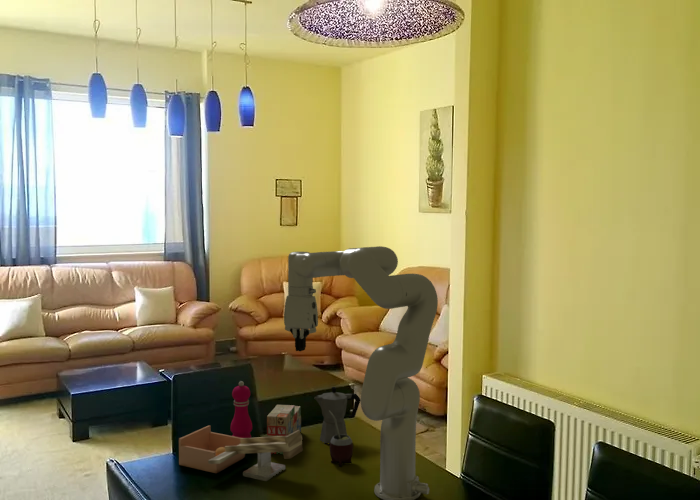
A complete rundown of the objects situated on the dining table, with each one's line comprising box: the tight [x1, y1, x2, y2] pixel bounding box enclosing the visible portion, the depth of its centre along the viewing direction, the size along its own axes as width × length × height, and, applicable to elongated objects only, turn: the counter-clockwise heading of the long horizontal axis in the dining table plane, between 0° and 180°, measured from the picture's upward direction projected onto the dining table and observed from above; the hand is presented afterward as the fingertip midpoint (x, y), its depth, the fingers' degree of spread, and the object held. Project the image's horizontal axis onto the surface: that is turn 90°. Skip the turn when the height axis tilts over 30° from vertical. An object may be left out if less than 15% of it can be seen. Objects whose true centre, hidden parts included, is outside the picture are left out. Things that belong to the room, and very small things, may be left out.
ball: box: [215, 447, 225, 456], centre depth 202 cm, size 4×4×4 cm
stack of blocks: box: [266, 404, 302, 455], centre depth 220 cm, size 21×6×12 cm, turn 171°
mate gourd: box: [329, 410, 354, 468], centre depth 203 cm, size 8×8×15 cm
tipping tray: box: [208, 430, 304, 464], centre depth 191 cm, size 22×16×6 cm
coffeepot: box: [313, 386, 361, 445], centre depth 222 cm, size 15×9×18 cm, turn 95°
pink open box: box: [178, 425, 246, 474], centre depth 204 cm, size 14×14×8 cm
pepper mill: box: [229, 380, 253, 438], centre depth 222 cm, size 7×7×20 cm
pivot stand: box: [242, 452, 286, 482], centre depth 195 cm, size 8×10×6 cm
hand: (300, 350), depth 208 cm, fingers closed
